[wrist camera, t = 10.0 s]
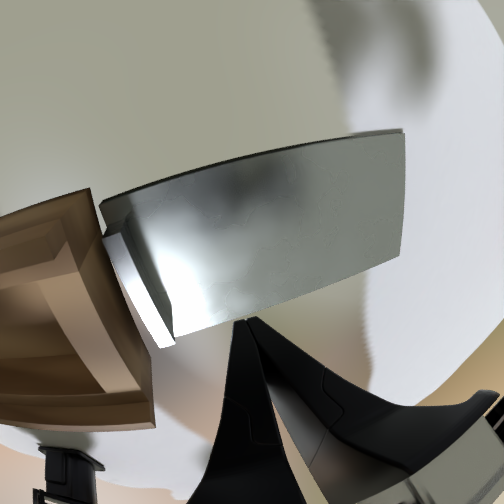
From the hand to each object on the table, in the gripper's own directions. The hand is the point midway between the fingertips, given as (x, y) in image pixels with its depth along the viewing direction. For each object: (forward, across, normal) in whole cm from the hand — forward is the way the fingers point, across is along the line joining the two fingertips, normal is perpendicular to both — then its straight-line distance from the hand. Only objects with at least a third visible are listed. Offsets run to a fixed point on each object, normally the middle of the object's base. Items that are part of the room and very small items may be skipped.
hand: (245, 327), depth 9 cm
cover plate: (+5, -3, -1) cm, 6 cm away
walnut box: (+4, +13, 0) cm, 14 cm away
